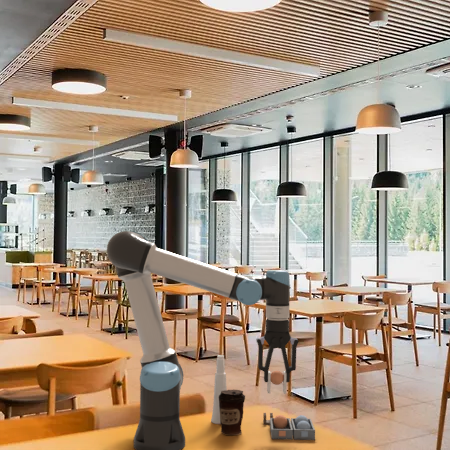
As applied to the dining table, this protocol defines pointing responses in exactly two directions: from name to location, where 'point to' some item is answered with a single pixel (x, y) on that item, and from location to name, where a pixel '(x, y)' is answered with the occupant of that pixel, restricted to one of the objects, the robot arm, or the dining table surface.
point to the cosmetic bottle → (218, 387)
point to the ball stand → (267, 422)
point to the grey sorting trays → (292, 431)
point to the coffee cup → (231, 411)
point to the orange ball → (277, 377)
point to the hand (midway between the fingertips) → (276, 392)
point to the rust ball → (280, 422)
